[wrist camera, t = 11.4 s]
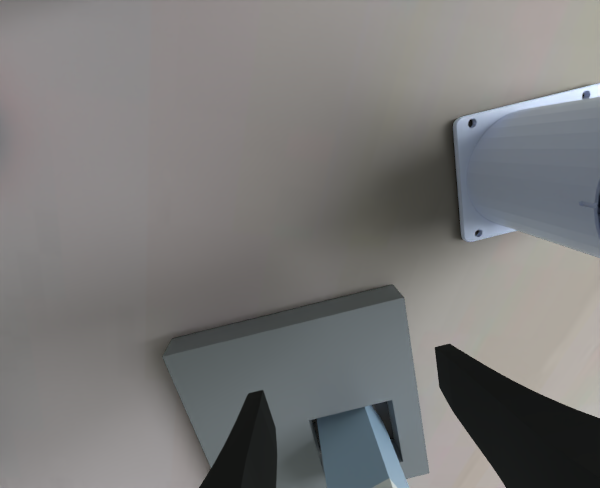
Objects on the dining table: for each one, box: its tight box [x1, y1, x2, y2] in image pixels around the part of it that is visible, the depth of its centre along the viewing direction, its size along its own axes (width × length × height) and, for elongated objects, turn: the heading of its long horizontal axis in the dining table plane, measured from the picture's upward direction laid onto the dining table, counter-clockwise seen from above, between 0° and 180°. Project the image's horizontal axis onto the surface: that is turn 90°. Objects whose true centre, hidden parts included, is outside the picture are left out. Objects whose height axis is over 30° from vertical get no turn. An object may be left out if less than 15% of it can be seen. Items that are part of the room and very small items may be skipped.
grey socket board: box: [162, 285, 429, 488], centre depth 23 cm, size 16×16×2 cm
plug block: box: [317, 405, 409, 488], centre depth 21 cm, size 4×4×8 cm
